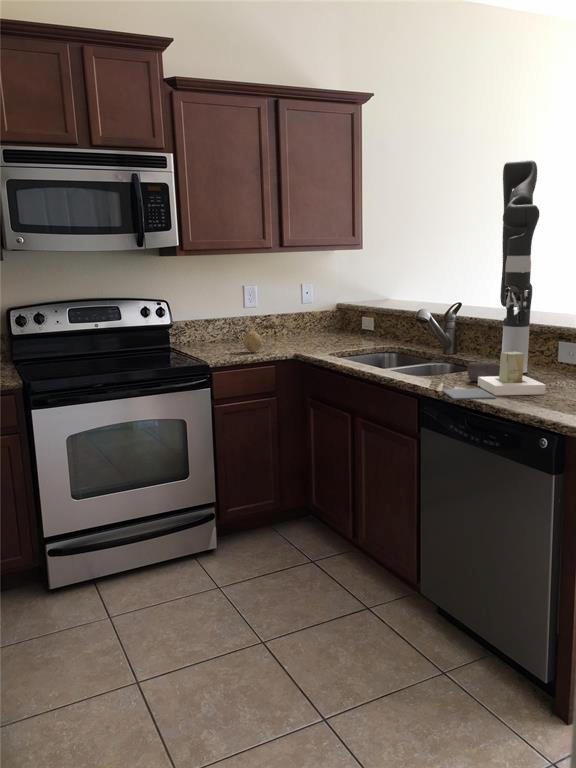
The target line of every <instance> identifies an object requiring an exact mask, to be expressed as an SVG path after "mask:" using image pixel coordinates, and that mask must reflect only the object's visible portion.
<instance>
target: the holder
mask: <svg viewBox="0 0 576 768" xmlns="http://www.w3.org/2000/svg"><path fill="white" fill-rule="evenodd" d="M477 386H478V387H479V386H480V387H479V388H480V389H483V390H484V391H486V392H488V393H490V394H491V395H493V396H519V395H520V396H521V395H527V396H528V395H530V396H531V395H546V386H547V385H546V384H544V383H542V382H540V381H538V380H536V379H534V378H531V377H528V376H526V375H522V383H502V382H500V381H499V376H488V377H478V382H477Z"/></svg>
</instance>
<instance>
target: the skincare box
mask: <svg viewBox="0 0 576 768" xmlns="http://www.w3.org/2000/svg"><path fill="white" fill-rule="evenodd" d="M523 360H524V353H520V352H503V353H502V352H500V360H499V361H500V362H499V365H500V372H499V381H500V382H502V383H522V376H524V373H523Z"/></svg>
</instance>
